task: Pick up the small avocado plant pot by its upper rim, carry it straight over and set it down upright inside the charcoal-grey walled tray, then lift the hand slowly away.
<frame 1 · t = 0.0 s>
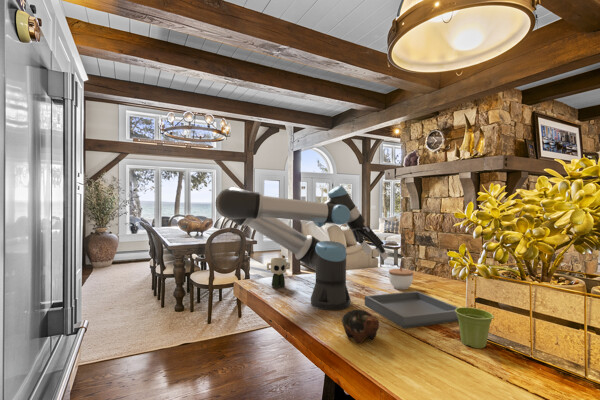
hand: (377, 255, 145), 15 cm above the counter, tool tilted 35°, fingers open, 13 cm apart
lidded jar: (400, 288, 149), on the counter
decorative turtle: (359, 338, 93), on the counter
walled tray: (411, 312, 115), on the counter
character mug: (278, 287, 148), on the counter
plant pot: (473, 344, 89), on the counter
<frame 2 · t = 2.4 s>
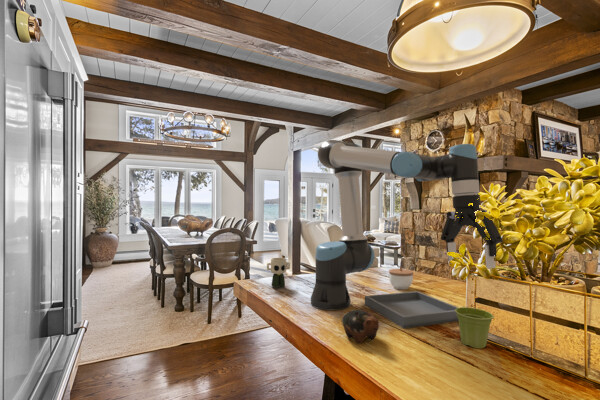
hand: (470, 265, 97), 20 cm above the counter, tool pointing down, fingers open, 13 cm apart
nothing on the counter moved.
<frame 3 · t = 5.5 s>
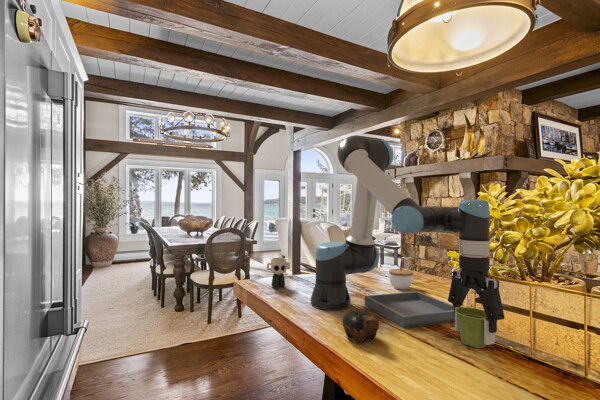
hand: (473, 336, 89), 2 cm above the counter, tool pointing down, fingers closed on plant pot, 9 cm apart
plant pot: (473, 344, 89), on the counter, touching gripper
everything else where it was.
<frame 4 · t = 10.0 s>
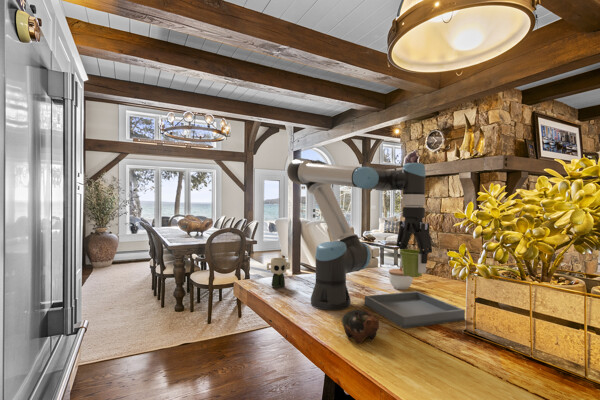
hand: (412, 269, 114), 15 cm above the counter, tool pointing down, fingers closed on plant pot, 9 cm apart
plant pot: (412, 276, 114), point 13 cm above the counter, touching gripper
everything else where it was.
when the fingers open (3 cm above the counter, at t = 15.0 s): plant pot stays where it is, resting on walled tray.
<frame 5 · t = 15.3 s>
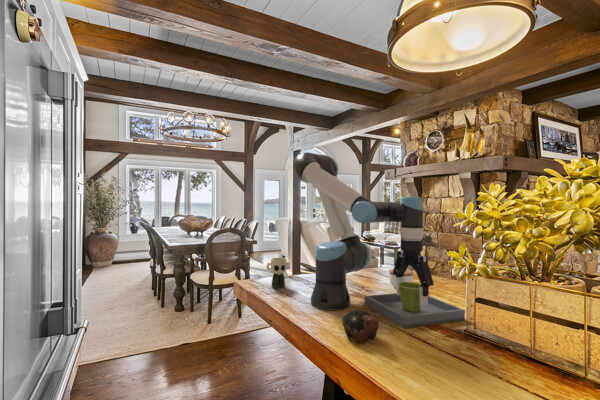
hand: (411, 299, 115), 4 cm above the counter, tool pointing down, fingers open, 12 cm apart
plant pot: (411, 310, 115), point 1 cm above the counter, touching walled tray
everything else where it was.
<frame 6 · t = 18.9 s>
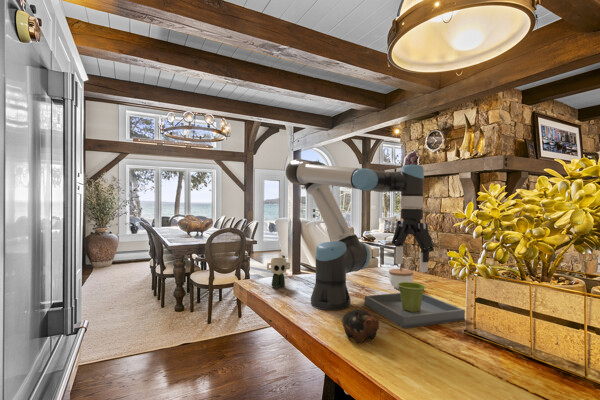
hand: (410, 267, 115), 16 cm above the counter, tool pointing down, fingers open, 13 cm apart
nothing on the counter moved.
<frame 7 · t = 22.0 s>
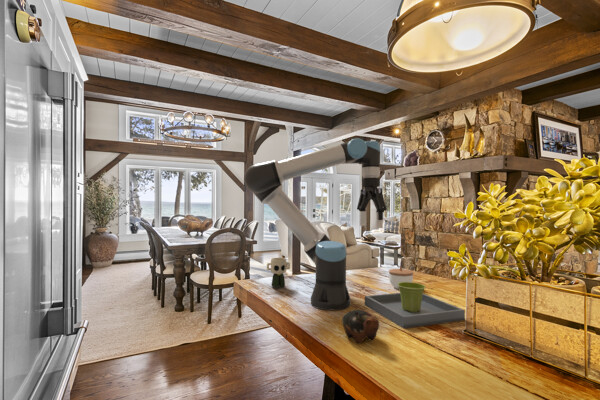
hand: (370, 227, 138), 29 cm above the counter, tool pointing down, fingers open, 13 cm apart
nothing on the counter moved.
at the end: plant pot inside the target area on the walled tray (0.1 cm from its centre), point 0.8 cm above the walled tray's base; plant pot tilted 0°; the gripper is holding nothing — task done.
